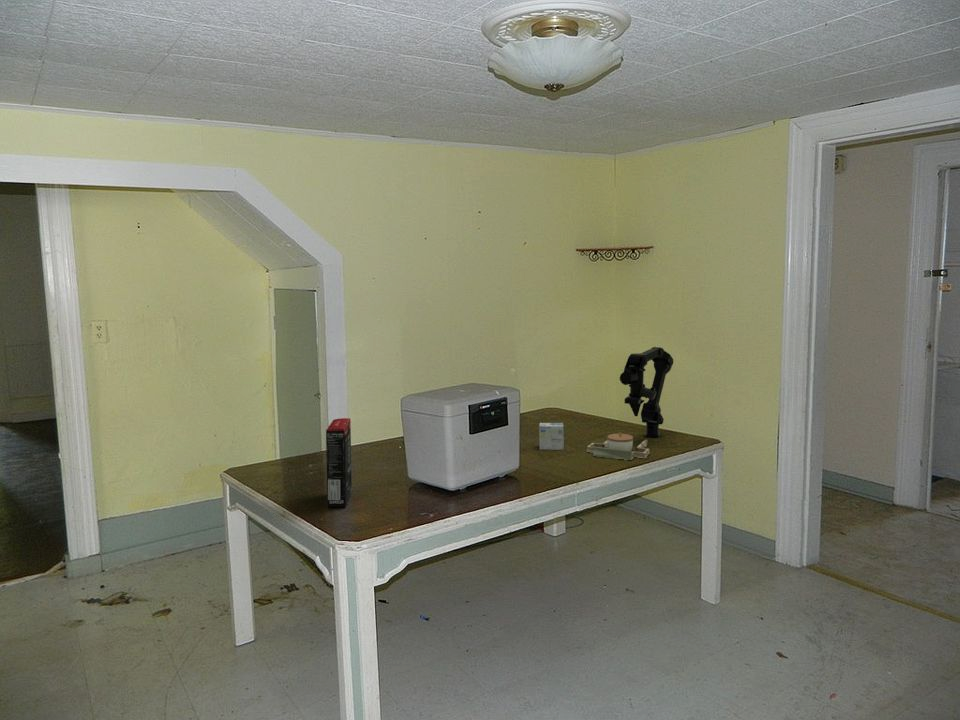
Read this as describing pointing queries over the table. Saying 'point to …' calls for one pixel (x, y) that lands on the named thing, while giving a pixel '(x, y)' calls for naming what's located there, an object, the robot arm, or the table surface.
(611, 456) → the trap lane
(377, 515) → the table surface
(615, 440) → the lidded jar
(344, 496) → the graphics card box
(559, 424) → the light bulb box
